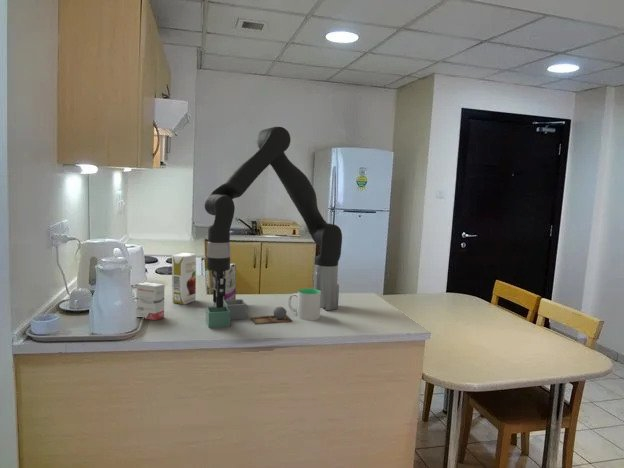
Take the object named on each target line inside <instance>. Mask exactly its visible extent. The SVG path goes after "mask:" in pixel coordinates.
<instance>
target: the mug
mask: <svg viewBox="0 0 624 468" xmlns="http://www.w3.org/2000/svg"><path fill="white" fill-rule="evenodd" d="M320 296H321V291H320V290H317V289H314V288H301V289H298V291H297V293H296V292H295V293H292V294H290V295H289V297H288V301H287V302H288V307H289V310H291V312H293V313H296V315H297V319H299V320H303V321H316V320H319V319H320V316H321V308H320ZM293 297H296V298H297V308H296V309H295V308H294V307H293V305H292V298H293Z"/></svg>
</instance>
